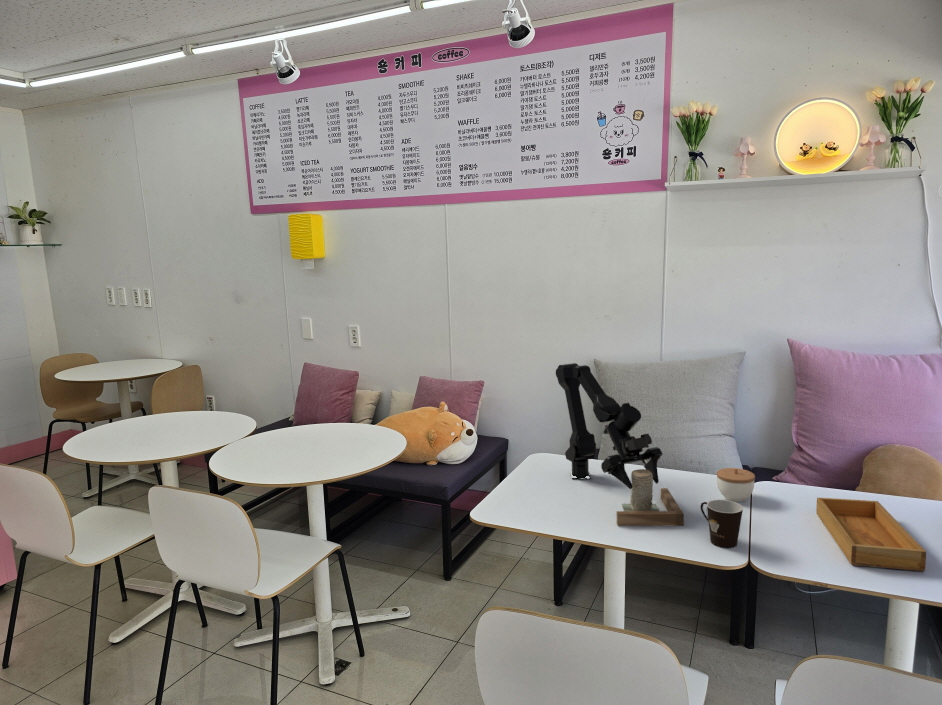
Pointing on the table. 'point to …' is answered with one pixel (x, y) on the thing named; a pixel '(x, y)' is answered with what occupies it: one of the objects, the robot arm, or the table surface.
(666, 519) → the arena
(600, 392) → the robot arm
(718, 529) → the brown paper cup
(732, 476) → the lidded jar
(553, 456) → the table surface
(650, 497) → the carving
